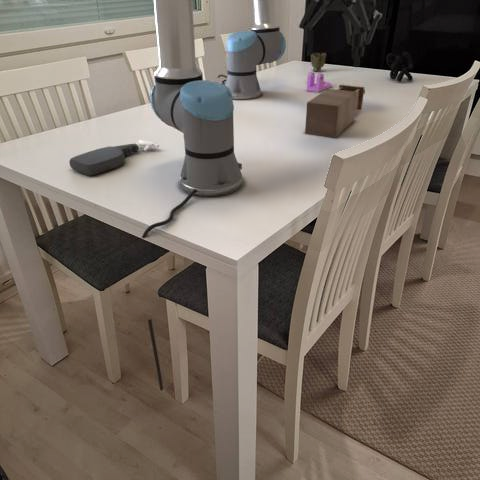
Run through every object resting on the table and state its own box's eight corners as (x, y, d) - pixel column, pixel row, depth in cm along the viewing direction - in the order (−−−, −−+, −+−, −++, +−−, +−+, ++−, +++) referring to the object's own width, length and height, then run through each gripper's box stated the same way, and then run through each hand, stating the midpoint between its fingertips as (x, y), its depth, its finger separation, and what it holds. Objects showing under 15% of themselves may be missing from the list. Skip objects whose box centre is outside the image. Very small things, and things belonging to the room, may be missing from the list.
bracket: (318, 92, 184) (319, 74, 181) (306, 90, 187) (307, 72, 184) (333, 85, 193) (334, 68, 189) (321, 84, 196) (322, 67, 192)
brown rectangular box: (325, 117, 155) (327, 88, 150) (353, 121, 151) (357, 91, 146) (305, 133, 141) (307, 102, 136) (335, 137, 137) (338, 106, 132)
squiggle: (400, 92, 202) (376, 71, 205) (417, 76, 202) (392, 56, 205) (405, 81, 191) (380, 59, 194) (423, 64, 191) (397, 42, 194)
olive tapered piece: (307, 71, 218) (308, 54, 214) (312, 68, 224) (313, 51, 220) (322, 73, 215) (323, 55, 211) (326, 70, 221) (328, 52, 217)
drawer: (342, 102, 167) (345, 81, 163) (366, 105, 164) (369, 83, 160) (321, 119, 150) (323, 96, 146) (346, 123, 146) (349, 99, 142)
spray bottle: (67, 168, 120) (139, 144, 136) (91, 178, 114) (163, 151, 130) (65, 157, 118) (137, 134, 134) (89, 167, 112) (162, 142, 128)
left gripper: (389, -29, 117) (377, 57, 128) (300, -29, 127) (296, 51, 138) (382, -29, 111) (370, 61, 122) (290, -28, 122) (287, 55, 133)
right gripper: (388, -12, 143) (377, 65, 156) (348, -12, 149) (341, 62, 161) (382, -11, 138) (372, 69, 150) (341, -11, 143) (334, 66, 156)
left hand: (331, 56), depth 130 cm, fingers open, 13 cm apart
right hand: (356, 66), depth 156 cm, fingers closed
